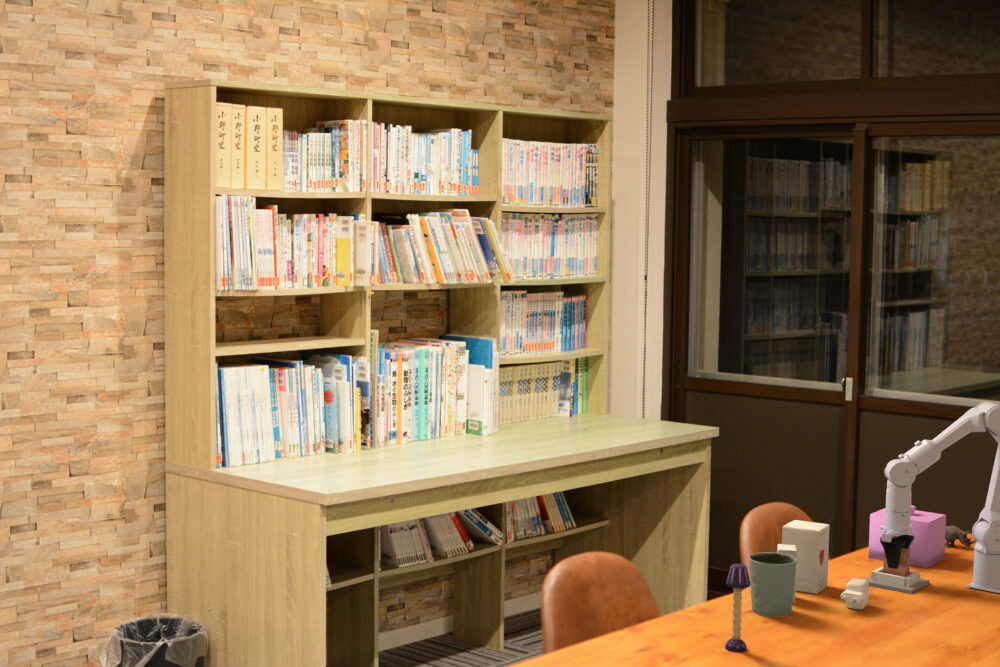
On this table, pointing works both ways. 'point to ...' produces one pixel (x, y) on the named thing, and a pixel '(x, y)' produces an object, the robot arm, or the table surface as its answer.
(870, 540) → the pink knobbed box
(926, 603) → the table surface
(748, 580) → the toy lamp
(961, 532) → the rhino figurine
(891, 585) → the grey framed tray
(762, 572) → the grey-green tapered cup
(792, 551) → the skincare box
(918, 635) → the table surface
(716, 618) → the table surface
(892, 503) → the robot arm
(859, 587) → the power adapter
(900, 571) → the block
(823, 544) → the supplement box
